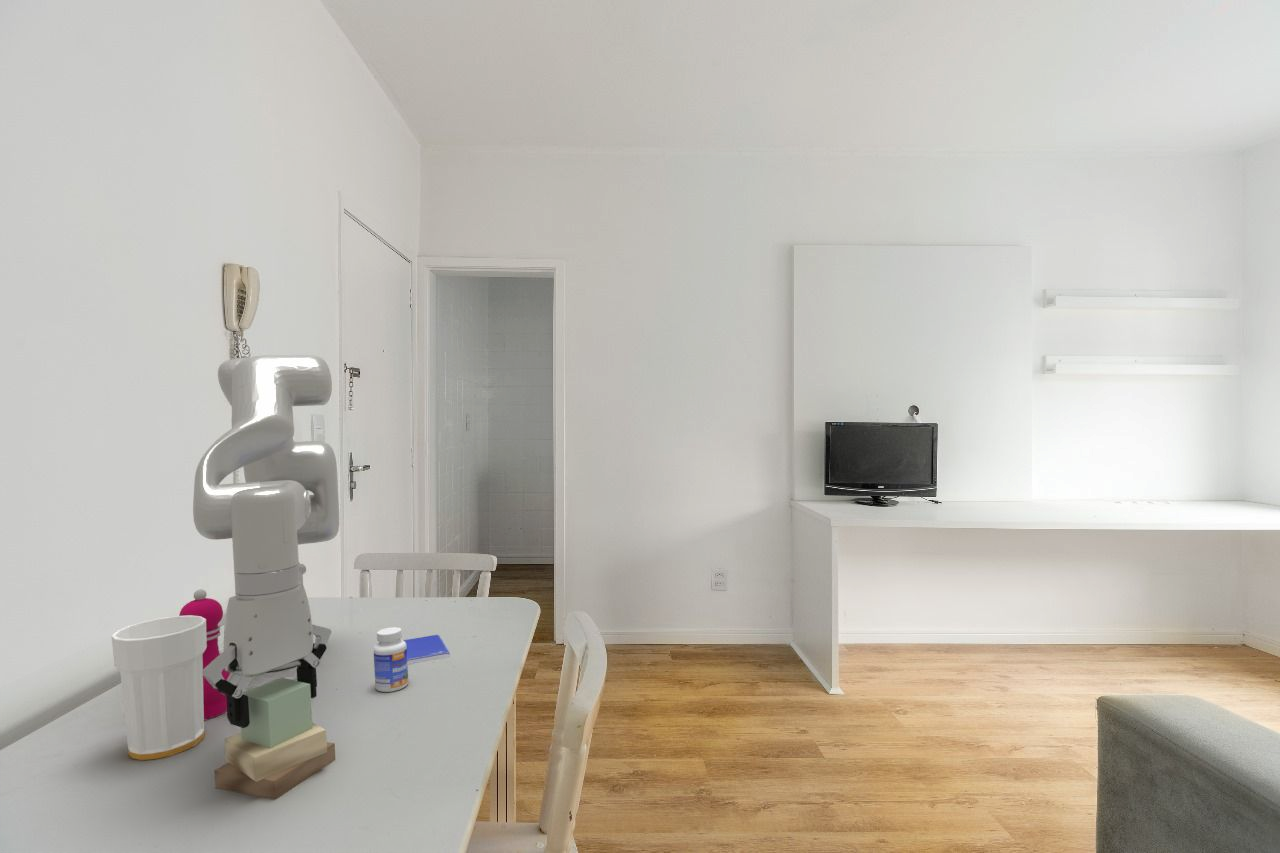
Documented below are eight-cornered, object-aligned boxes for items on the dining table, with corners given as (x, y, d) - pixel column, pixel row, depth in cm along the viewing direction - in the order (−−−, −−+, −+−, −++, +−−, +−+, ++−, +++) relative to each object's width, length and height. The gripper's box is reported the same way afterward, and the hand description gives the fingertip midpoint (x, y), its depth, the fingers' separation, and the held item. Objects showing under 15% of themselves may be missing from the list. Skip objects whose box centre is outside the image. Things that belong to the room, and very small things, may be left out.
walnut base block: (215, 793, 90) (214, 770, 90) (278, 755, 99) (277, 734, 99) (276, 805, 86) (274, 781, 86) (335, 764, 96) (334, 743, 96)
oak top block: (226, 760, 92) (225, 738, 92) (295, 734, 99) (294, 713, 99) (256, 781, 86) (254, 757, 86) (327, 751, 93) (326, 729, 93)
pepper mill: (243, 705, 115) (236, 584, 115) (203, 724, 108) (195, 596, 108) (210, 700, 118) (203, 582, 117) (169, 719, 111) (161, 594, 110)
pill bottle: (397, 693, 118) (395, 636, 117) (368, 692, 119) (366, 635, 118) (414, 680, 123) (411, 626, 123) (386, 679, 124) (384, 625, 124)
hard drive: (449, 651, 134) (439, 633, 145) (405, 659, 131) (397, 640, 142) (450, 659, 134) (439, 641, 146) (405, 668, 131) (398, 648, 142)
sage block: (241, 739, 91) (239, 693, 91) (284, 720, 97) (281, 677, 97) (270, 748, 89) (268, 701, 88) (312, 728, 94) (310, 684, 94)
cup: (141, 772, 94) (133, 644, 94) (104, 752, 100) (97, 632, 100) (227, 736, 104) (221, 620, 103) (189, 720, 110) (182, 611, 109)
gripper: (308, 564, 101) (314, 681, 102) (182, 595, 86) (190, 732, 87) (343, 568, 98) (349, 690, 98) (217, 601, 83) (226, 745, 83)
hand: (275, 710), depth 93 cm, fingers open, 9 cm apart
